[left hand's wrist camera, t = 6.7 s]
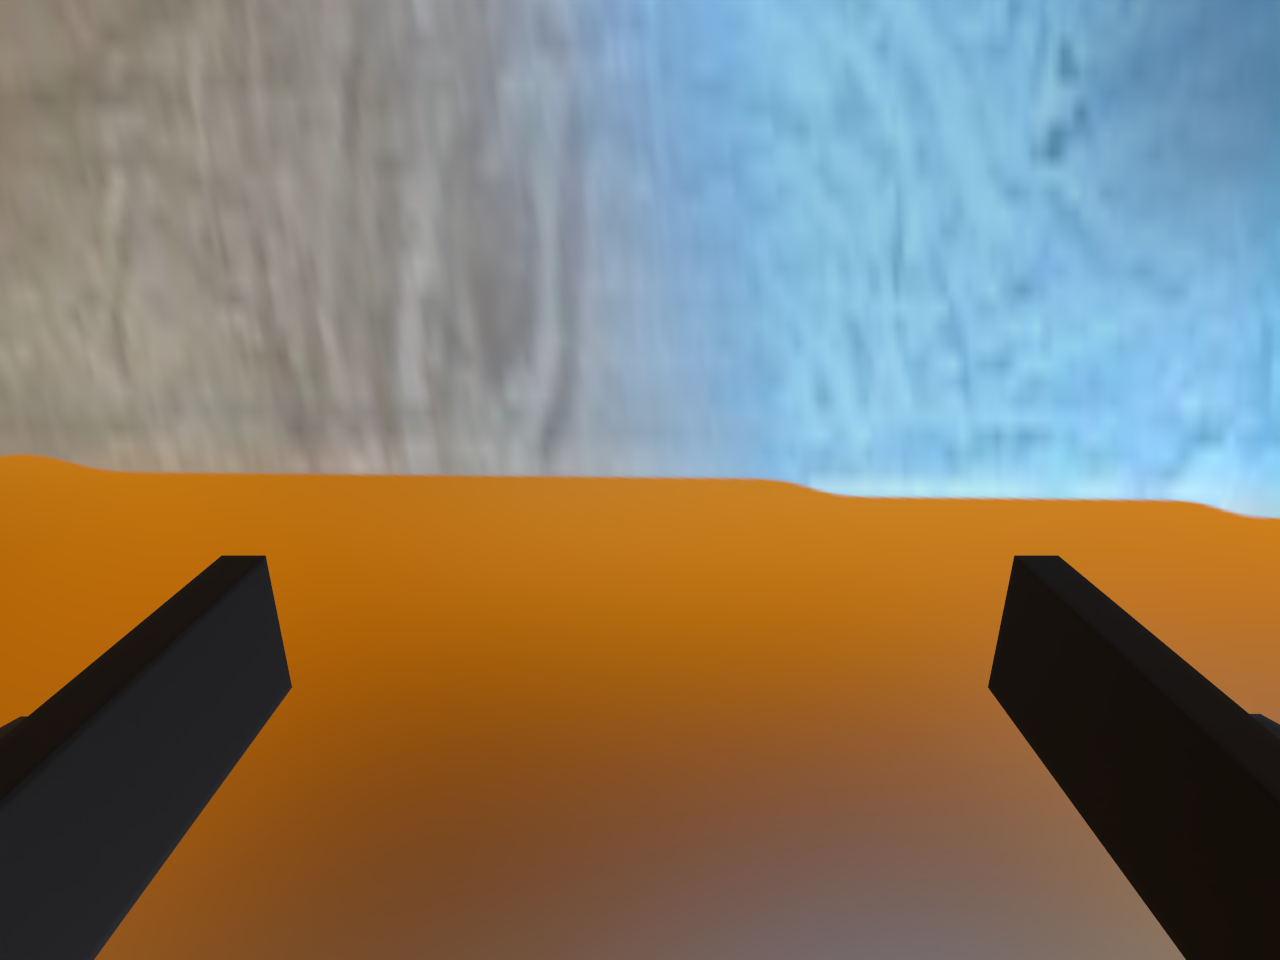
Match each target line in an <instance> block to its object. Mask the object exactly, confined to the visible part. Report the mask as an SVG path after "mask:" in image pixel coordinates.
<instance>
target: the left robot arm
mask: <svg viewBox="0 0 1280 960" xmlns="http://www.w3.org/2000/svg"><path fill="white" fill-rule="evenodd" d="M291 688H292V685H291V680H290V676H289V671H288V665H287V661H286V655H285V651H284V645H283V640H282V636H281V631H280V625H279V620H278V616H277V610H276V605H275V601H274V596H273V591H272V586H271V581H270V576H269V571H268V566H267V561H266V556H221V557H220V558H218V559H217V560H216V561H215V562H214V563H212V564H211V565H210V566H209V567H208V568H206V569H205V570H204V571H203V572H202V573H200V574H199V575H198V576H197V577H195V578H194V579H193V580H192V581H191V582H189V583H188V584H187V585H186V586H185V587H183V588H182V589H181V590H180V591H179V592H177V593H176V594H175V595H174V596H173V597H171V598H170V599H169V600H168V601H167V602H165V603H164V604H163V605H162V606H161V607H159V608H158V609H157V610H156V611H155V612H153V613H152V614H151V615H150V616H149V617H147V618H146V619H145V620H144V621H143V622H141V623H140V624H139V625H138V626H136V627H135V628H134V629H133V630H132V631H130V632H129V633H128V634H127V635H126V636H124V637H123V638H122V639H121V640H120V641H118V642H117V643H116V644H115V645H114V646H112V647H111V648H110V649H109V650H108V651H106V652H105V653H104V654H103V655H102V656H100V657H99V658H98V659H97V660H95V661H94V662H93V663H92V664H91V665H89V666H88V667H87V668H86V669H85V670H83V671H82V672H81V673H80V674H79V675H77V676H76V677H75V678H74V679H73V680H71V681H70V682H69V683H68V684H67V685H65V686H64V687H63V688H62V689H61V690H59V691H58V692H57V693H56V694H55V695H53V696H52V697H51V698H50V699H49V700H47V701H46V702H45V703H44V704H42V705H41V706H40V707H39V708H38V709H36V710H35V711H34V712H33V713H32V714H30V715H29V716H28V717H19V718H17V719H15V720H13V721H12V722H10V723H8V724H6V725H4V726H3V727H1V728H0V960H94V959H95V957H96V956H97V955H98V953H99V952H100V951H101V949H102V948H103V946H104V945H105V944H106V942H107V941H108V940H109V938H110V937H111V935H112V934H113V933H114V931H115V930H116V929H117V927H118V926H119V924H120V923H121V922H122V920H123V919H124V917H125V916H126V915H127V913H128V912H129V911H130V909H131V908H132V907H133V905H134V904H135V902H136V901H137V900H138V898H139V897H140V896H141V894H142V893H143V891H144V890H145V889H146V887H147V886H148V885H149V883H150V882H151V880H152V879H153V878H154V876H155V875H156V873H157V872H158V871H159V869H160V868H161V867H162V865H163V864H164V863H165V861H166V860H167V858H168V857H169V856H170V854H171V853H172V852H173V850H174V849H175V847H176V846H177V845H178V843H179V842H180V841H181V839H182V838H183V836H184V835H185V834H186V832H187V831H188V829H189V828H190V827H191V825H192V824H193V823H194V821H195V820H196V818H197V817H198V816H199V814H200V813H201V812H202V810H203V809H204V808H205V806H206V805H207V803H208V802H209V801H210V799H211V798H212V796H213V795H214V794H215V792H216V791H217V790H218V788H219V787H220V786H221V784H222V783H223V781H224V780H225V779H226V777H227V776H228V774H229V773H230V772H231V770H232V769H233V768H234V766H235V765H236V763H237V762H238V761H239V759H240V758H241V757H242V755H243V754H244V753H245V751H246V750H247V748H248V747H249V746H250V744H251V743H252V742H253V740H254V739H255V737H256V736H257V735H258V733H259V732H260V730H261V729H262V728H263V726H264V725H265V724H266V722H267V721H268V719H269V718H270V717H271V715H272V714H273V713H274V711H275V710H276V708H277V707H278V706H279V704H280V703H281V702H282V700H283V699H284V697H285V696H286V695H287V693H288V692H289V691H290V689H291ZM988 688H989V689H990V691H991V692H992V693H993V695H994V696H995V697H996V699H997V700H998V702H999V703H1000V704H1001V706H1002V707H1003V708H1004V710H1005V711H1006V713H1007V714H1008V715H1009V717H1010V718H1011V719H1012V721H1013V722H1014V724H1015V725H1016V726H1017V728H1018V729H1019V731H1020V732H1021V733H1022V735H1023V736H1024V737H1025V739H1026V740H1027V741H1028V743H1029V744H1030V746H1031V747H1032V748H1033V750H1034V751H1035V753H1036V754H1037V755H1038V757H1039V758H1040V759H1041V761H1042V762H1043V764H1044V765H1045V766H1046V768H1047V769H1048V770H1049V772H1050V773H1051V775H1052V776H1053V777H1054V778H1055V780H1056V781H1057V783H1058V784H1059V786H1060V787H1061V788H1062V790H1063V791H1064V792H1065V794H1066V795H1067V796H1068V798H1069V799H1070V801H1071V802H1072V803H1073V805H1074V806H1075V808H1076V809H1077V810H1078V812H1079V813H1080V814H1081V816H1082V817H1083V819H1084V820H1085V821H1086V823H1087V824H1088V825H1089V827H1090V828H1091V830H1092V831H1093V832H1094V834H1095V835H1096V836H1097V838H1098V839H1099V841H1100V842H1101V843H1102V845H1103V846H1104V847H1105V849H1106V850H1107V852H1108V853H1109V854H1110V856H1111V857H1112V858H1113V860H1114V861H1115V863H1116V864H1117V865H1118V867H1119V868H1120V869H1121V871H1122V872H1123V873H1124V875H1125V876H1126V878H1127V879H1128V880H1129V882H1130V883H1131V884H1132V886H1133V887H1134V889H1135V890H1136V891H1137V893H1138V894H1139V896H1140V897H1141V898H1142V900H1143V901H1144V902H1145V904H1146V905H1147V906H1148V908H1149V909H1150V911H1151V912H1152V913H1153V915H1154V916H1155V917H1156V919H1157V920H1158V922H1159V923H1160V924H1161V926H1162V927H1163V929H1164V930H1165V931H1166V933H1167V934H1168V935H1169V937H1170V938H1171V939H1172V941H1173V942H1174V944H1175V945H1176V946H1177V948H1178V949H1179V951H1180V952H1181V953H1182V955H1183V956H1184V957H1185V959H1186V960H1280V725H1279V724H1278V723H1276V722H1274V721H1272V720H1270V719H1268V718H1267V717H1265V716H1263V715H1261V714H1248V713H1247V712H1246V711H1245V710H1244V709H1242V708H1241V707H1240V706H1239V705H1238V704H1236V703H1235V702H1234V701H1233V700H1231V699H1230V698H1229V697H1228V696H1227V695H1225V694H1224V693H1223V692H1222V691H1221V690H1219V689H1218V688H1217V687H1216V686H1215V685H1213V684H1212V683H1211V682H1210V681H1209V680H1207V679H1206V678H1205V677H1204V676H1203V675H1201V674H1200V673H1199V672H1198V671H1197V670H1195V669H1194V668H1193V667H1192V666H1190V665H1189V664H1188V663H1187V662H1186V661H1184V660H1183V659H1182V658H1181V657H1180V656H1178V655H1177V654H1176V653H1175V652H1174V651H1172V650H1171V649H1170V648H1169V647H1168V646H1166V645H1165V644H1164V643H1163V642H1161V641H1160V640H1159V639H1158V638H1157V637H1156V636H1154V635H1153V634H1152V633H1151V632H1150V631H1148V630H1147V629H1146V628H1145V627H1144V626H1142V625H1141V624H1140V623H1139V622H1137V621H1136V620H1135V619H1134V618H1133V617H1131V616H1130V615H1129V614H1128V613H1127V612H1125V611H1124V610H1123V609H1122V608H1121V607H1119V606H1118V605H1117V604H1116V603H1115V602H1113V601H1112V600H1111V599H1110V598H1109V597H1107V596H1106V595H1105V594H1104V593H1102V592H1101V591H1100V590H1099V589H1098V588H1097V587H1095V586H1094V585H1093V584H1092V583H1090V582H1089V581H1088V580H1087V579H1086V578H1085V577H1083V576H1082V575H1081V574H1080V573H1078V572H1077V571H1076V570H1075V569H1074V568H1072V567H1071V566H1070V565H1069V564H1068V563H1066V562H1065V561H1064V560H1063V559H1062V558H1060V557H1059V556H1014V561H1013V566H1012V571H1011V576H1010V581H1009V586H1008V591H1007V596H1006V600H1005V606H1004V610H1003V616H1002V620H1001V625H1000V631H999V636H998V641H997V645H996V650H995V655H994V661H993V665H992V670H991V675H990V680H989V685H988Z"/></svg>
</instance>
